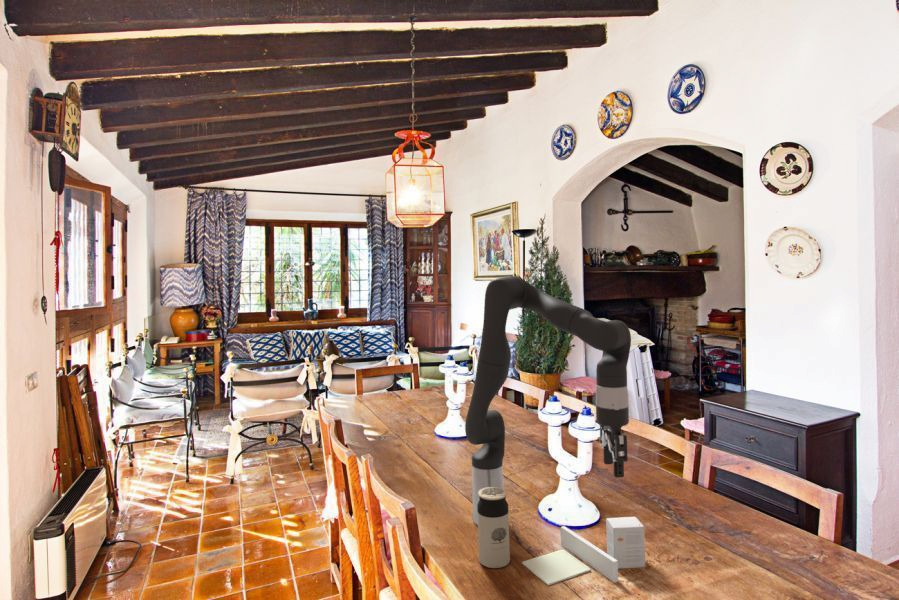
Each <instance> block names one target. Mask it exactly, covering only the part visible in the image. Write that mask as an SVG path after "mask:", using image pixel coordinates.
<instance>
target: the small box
mask: <svg viewBox="0 0 899 600" xmlns="http://www.w3.org/2000/svg"><path fill="white" fill-rule="evenodd" d="M605 522H606V523H605V527H606V529H605V530H606V553H607V554H608V555H610V556H611V557H613V558H614V559H616V560H618V570H619V569H635V568H637V569H638V568H646V542H645V541H646V540H645V537H646V536H645V526H644V525H643V523H642V522H641V521H640V520H639V519H638V518H637V517H636V516H623V517H607V518H606V519H605Z"/></svg>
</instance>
